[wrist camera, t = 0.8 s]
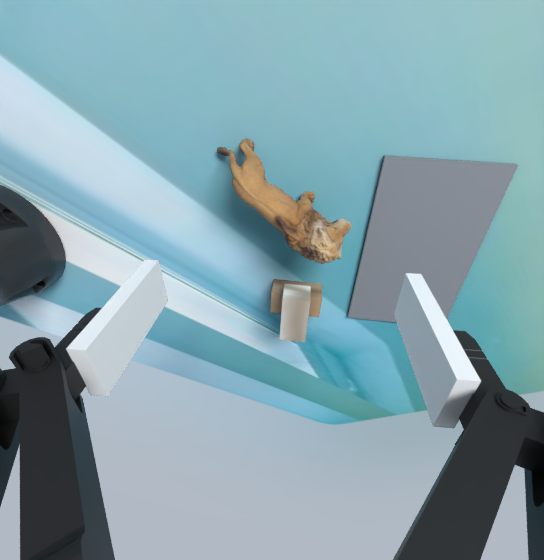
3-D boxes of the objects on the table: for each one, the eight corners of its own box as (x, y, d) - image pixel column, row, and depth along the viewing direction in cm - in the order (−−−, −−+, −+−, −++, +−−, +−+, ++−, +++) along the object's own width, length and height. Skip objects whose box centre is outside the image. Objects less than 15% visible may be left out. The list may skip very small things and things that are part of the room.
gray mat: (347, 314, 41) (348, 317, 40) (384, 155, 30) (385, 156, 29) (441, 324, 40) (442, 327, 39) (515, 163, 29) (518, 165, 28)
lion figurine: (352, 203, 33) (363, 240, 25) (323, 241, 35) (325, 285, 28) (229, 123, 30) (201, 140, 22) (208, 172, 33) (176, 200, 25)
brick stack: (272, 306, 42) (266, 338, 37) (274, 268, 38) (268, 297, 33) (317, 311, 41) (317, 343, 36) (323, 273, 38) (324, 303, 33)
